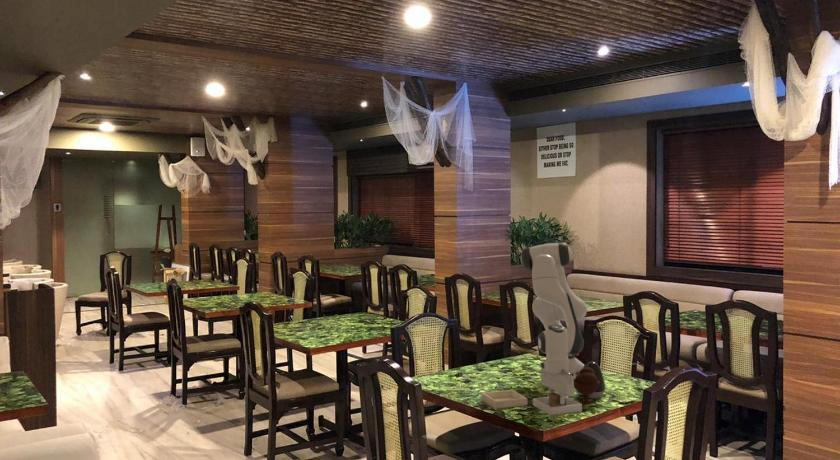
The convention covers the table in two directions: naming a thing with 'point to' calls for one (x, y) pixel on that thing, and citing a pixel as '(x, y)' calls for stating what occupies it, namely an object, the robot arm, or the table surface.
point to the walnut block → (555, 400)
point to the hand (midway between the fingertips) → (557, 401)
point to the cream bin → (503, 399)
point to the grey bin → (569, 408)
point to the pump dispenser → (599, 375)
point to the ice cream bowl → (586, 383)
